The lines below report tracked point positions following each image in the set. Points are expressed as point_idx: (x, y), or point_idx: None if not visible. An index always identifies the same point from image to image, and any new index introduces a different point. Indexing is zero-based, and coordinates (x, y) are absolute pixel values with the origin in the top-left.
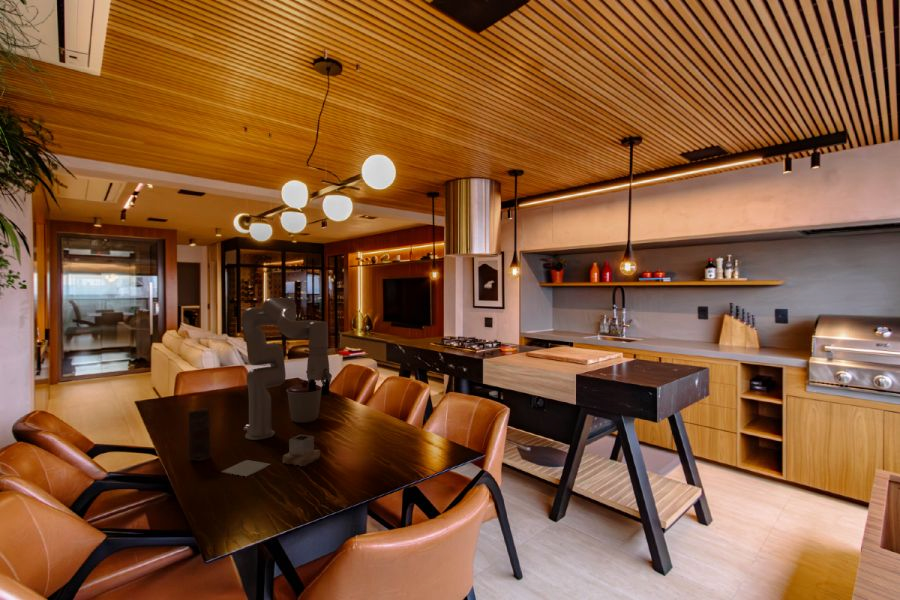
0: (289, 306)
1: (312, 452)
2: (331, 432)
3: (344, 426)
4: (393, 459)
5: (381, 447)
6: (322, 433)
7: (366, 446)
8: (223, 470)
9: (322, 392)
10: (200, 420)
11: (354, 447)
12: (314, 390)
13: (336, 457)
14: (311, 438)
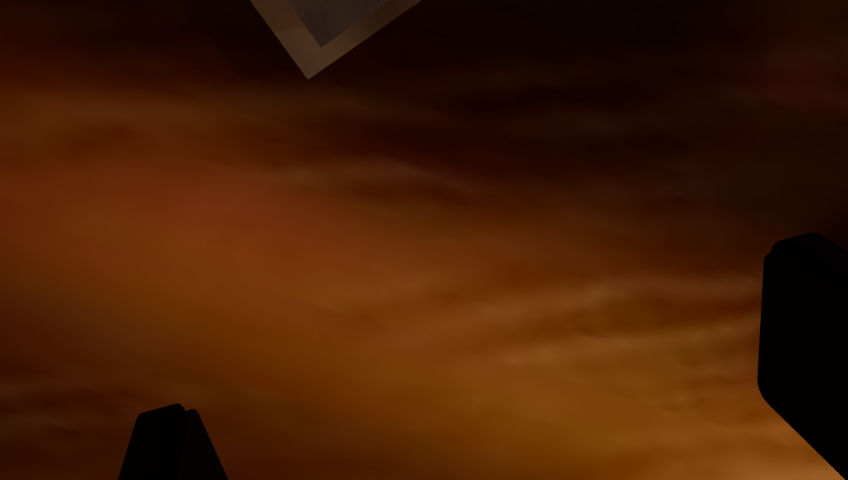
0: None
1: (286, 2)
2: (748, 301)
3: None
4: (4, 463)
5: (266, 466)
6: None
7: (339, 401)
8: None
9: (124, 472)
10: None
11: (368, 336)
12: (769, 368)
13: (241, 174)
14: (295, 10)
